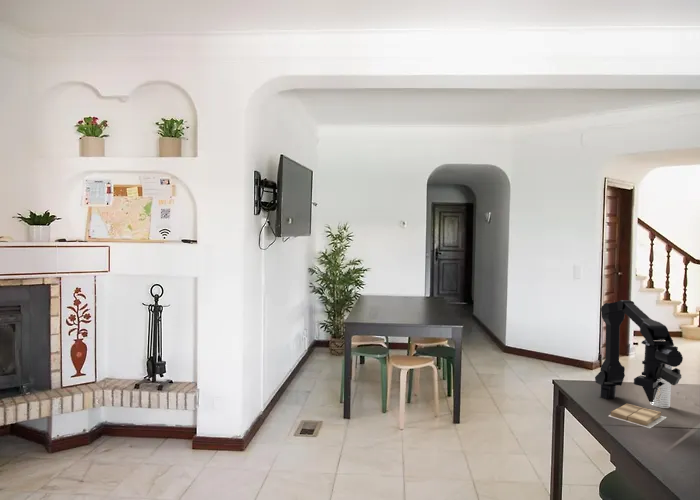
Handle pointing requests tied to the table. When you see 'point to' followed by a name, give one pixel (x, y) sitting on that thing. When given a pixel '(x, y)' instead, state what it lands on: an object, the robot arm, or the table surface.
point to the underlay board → (648, 424)
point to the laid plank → (625, 411)
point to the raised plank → (644, 416)
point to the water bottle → (663, 393)
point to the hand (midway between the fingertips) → (651, 401)
